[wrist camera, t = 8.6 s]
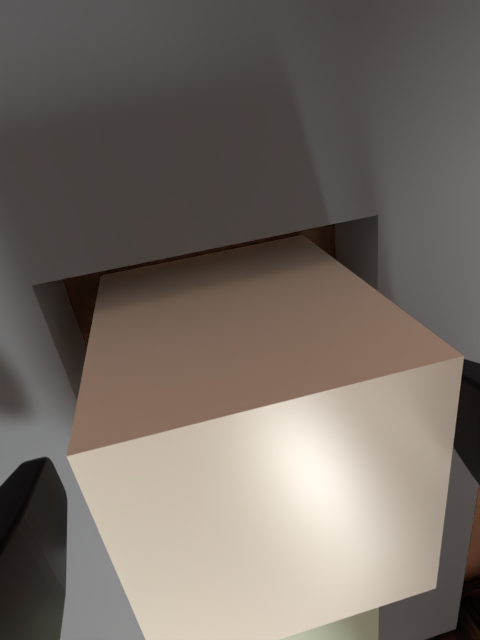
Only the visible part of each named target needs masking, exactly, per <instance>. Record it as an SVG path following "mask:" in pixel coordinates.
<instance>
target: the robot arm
mask: <svg viewBox="0 0 480 640" xmlns="http://www.w3.org/2000/svg"><path fill="white" fill-rule="evenodd" d="M453 448H454V449H455V451H456V452H457V454H458V455H459V457H460V458H461V460H462V462H463V463H464V465H465V466H466V467H467V469H468V470H469V472H470V473H471V475H472V476H473V477H474V479H475V480H476V481H477V483H478V484H479V485H480V363H477V362H474V361H470V360H467V359H464V361H463V369H462V377H461V385H460V394H459V402H458V410H457V418H456V427H455V435H454V443H453ZM67 513H68V501H67V494H66V491H65V488H64V486H63V484H62V481H61V479H60V477H59V475H58V473H57V471H56V468H55V466H54V464H53V462H52V460H51V459H50V458H48V457H40V458H36V459H32V460H28V461H25V462H23V463H21V464H20V465H19V466H18V467H17V468H16V469H15V471H14V472H13V473H12V474H11V475H10V476H9V477H8V478H7V479H6V480H5V481H4V483H3V484H2V485H1V486H0V640H60V637H61V629H62V622H63V614H64V605H65V596H66V569H67ZM425 640H480V580H478V581H475V582H472V583H469V584H466V585H463V588H462V594H461V600H460V606H459V613H458V619H457V625H456V629H454V630H451V631H448V632H445V633H442V634H439V635H437V636H434V637H431V638H428V639H425Z"/></svg>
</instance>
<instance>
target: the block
mask: <svg viewBox="0 0 480 640" xmlns="http://www.w3.org/2000/svg"><path fill="white" fill-rule="evenodd" d="M463 361H464V356H463V355H462V354H461V353H459V352H458V351H457V350H455V349H454V348H453V347H451V346H450V345H449V344H447V343H446V342H445V341H443V340H442V339H441V338H439V337H438V336H437V335H435V334H434V333H433V332H431V331H430V330H429V329H427V328H426V327H425V326H423V325H422V324H421V323H419V322H418V321H417V320H415V319H414V318H413V317H411V316H410V315H409V314H407V313H406V312H405V311H403V310H402V309H401V308H399V307H398V306H397V305H395V304H394V303H393V302H391V301H390V300H389V299H387V298H386V297H385V296H383V295H382V294H381V293H379V292H378V291H377V290H375V289H374V288H373V287H371V286H370V285H369V284H367V283H366V282H365V281H363V280H362V279H361V278H359V277H358V276H357V275H355V274H354V273H353V272H351V271H350V270H349V269H347V268H346V267H345V266H343V265H342V264H341V263H339V262H338V261H337V260H335V259H334V258H333V257H331V256H330V255H329V254H327V253H326V252H325V251H323V250H322V249H321V248H319V247H318V246H317V245H315V244H314V243H313V242H311V241H310V240H309V239H307V238H306V237H305V236H303V235H300V236H295V237H290V238H285V239H280V240H275V241H270V242H265V243H260V244H255V245H250V246H245V247H240V248H235V249H230V250H225V251H220V252H215V253H210V254H205V255H200V256H195V257H190V258H185V259H181V260H176V261H171V262H166V263H161V264H156V265H151V266H146V267H141V268H136V269H131V270H126V271H121V272H116V273H111V274H106V275H101V278H100V283H99V289H98V294H97V299H96V304H95V310H94V315H93V320H92V325H91V331H90V336H89V341H88V346H87V352H86V357H85V362H84V367H83V373H82V378H81V383H80V388H79V394H78V399H77V404H76V409H75V415H74V420H73V425H72V430H71V436H70V441H69V446H68V451H67V459H68V461H69V463H70V466H71V468H72V470H73V473H74V475H75V477H76V480H77V482H78V484H79V486H80V489H81V491H82V493H83V496H84V498H85V500H86V503H87V505H88V507H89V510H90V512H91V514H92V517H93V519H94V521H95V524H96V526H97V528H98V531H99V533H100V535H101V538H102V540H103V542H104V545H105V547H106V549H107V552H108V554H109V556H110V559H111V561H112V563H113V565H114V568H115V570H116V572H117V575H118V577H119V579H120V582H121V584H122V586H123V589H124V591H125V593H126V596H127V598H128V600H129V603H130V605H131V607H132V610H133V612H134V614H135V617H136V619H137V621H138V624H139V626H140V628H141V631H142V633H143V635H144V638H145V640H280V639H283V638H286V637H289V636H292V635H295V634H298V633H301V632H304V631H307V630H310V629H313V628H316V627H319V626H322V625H325V624H328V623H332V622H335V621H338V620H341V619H344V618H347V617H350V616H353V615H356V614H359V613H362V612H365V611H368V610H371V609H374V608H377V607H380V606H383V605H387V604H390V603H393V602H396V601H399V600H402V599H405V598H408V597H411V596H414V595H417V594H420V593H423V592H426V591H429V590H432V589H435V588H436V584H437V576H438V567H439V559H440V551H441V542H442V534H443V526H444V518H445V509H446V501H447V493H448V485H449V476H450V468H451V460H452V451H453V443H454V435H455V427H456V418H457V410H458V402H459V394H460V385H461V377H462V369H463Z"/></svg>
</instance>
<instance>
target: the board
mask: <svg viewBox="0 0 480 640" xmlns="http://www.w3.org/2000/svg"><path fill="white" fill-rule="evenodd" d="M331 224H334V229H335V254H336V260H337V261H338V262H339V263H341V264H342V265H343V266H345V267H346V268H347V269H349V270H350V271H351V272H353V273H354V274H355V275H357V276H358V277H359V278H361V279H362V280H363V281H365V282H366V283H367V284H369V285H370V286H371V287H373V288H374V289H375V290H377V291H378V292H379V293H381V294H382V295H383V296H385V297H386V298H387V299H389V300H390V301H391V302H393V303H394V304H395V305H397V306H398V307H399V308H401V309H402V310H403V311H405V312H406V313H407V314H409V315H410V316H411V317H413V318H414V319H415V320H417V321H418V322H419V323H421V324H422V325H423V326H425V327H426V328H427V329H429V330H430V331H431V332H433V333H434V334H435V335H437V336H438V337H439V338H441V339H442V340H443V341H445V342H446V343H447V344H449V345H450V346H451V347H453V348H454V349H455V350H457V351H458V352H459V353H461V354H462V355H463V356H464V359H467V360H470V361H474V362H477V363H480V0H0V486H1V485H2V484H3V483H4V481H5V480H6V479H7V478H8V477H9V476H10V475H11V474H12V473H13V472H14V471H15V469H16V468H17V467H18V466H19V465H20V464H21V463H23V462H25V461H28V460H32V459H36V458H40V457H48V458H50V459H51V460H52V462H53V464H54V466H55V468H56V471H57V473H58V475H59V477H60V479H61V481H62V484H63V486H64V488H65V491H66V494H67V501H68V513H67V569H66V596H65V605H64V614H63V622H62V629H61V637H60V640H145V638H144V635H143V633H142V631H141V628H140V626H139V624H138V621H137V619H136V617H135V614H134V612H133V610H132V607H131V605H130V603H129V600H128V598H127V596H126V593H125V591H124V589H123V586H122V584H121V582H120V579H119V577H118V575H117V572H116V570H115V568H114V565H113V563H112V561H111V559H110V556H109V554H108V552H107V549H106V547H105V545H104V542H103V540H102V538H101V535H100V533H99V531H98V528H97V526H96V524H95V521H94V519H93V517H92V514H91V512H90V510H89V507H88V505H87V503H86V500H85V498H84V496H83V493H82V491H81V489H80V486H79V484H78V482H77V480H76V477H75V475H74V473H73V470H72V468H71V466H70V463H69V461H68V459H67V451H68V446H69V441H70V436H71V430H72V425H73V420H74V415H75V409H76V404H77V399H78V394H79V388H80V383H81V378H82V373H83V367H84V362H85V357H86V352H87V347H86V344H85V342H84V339H83V336H82V333H81V330H80V327H79V325H78V322H77V319H76V316H75V313H74V310H73V308H72V305H71V302H70V299H69V296H68V293H67V290H66V288H65V285H64V282H63V279H66V278H71V277H76V276H81V275H86V274H91V273H96V272H100V271H105V270H110V269H115V268H120V267H125V266H130V265H135V264H140V263H145V262H150V261H154V260H159V259H164V258H169V257H174V256H179V255H184V254H189V253H194V252H199V251H204V250H208V249H213V248H218V247H223V246H228V245H233V244H238V243H243V242H248V241H253V240H258V239H262V238H267V237H272V236H277V235H282V234H287V233H292V232H297V231H302V230H307V229H312V228H316V227H321V226H326V225H331ZM478 487H479V484H478V483H477V481H476V480H475V479H474V477H473V476H472V475H471V473H470V472H469V470H468V469H467V467H466V466H465V465H464V463H463V462H462V460H461V458H460V457H459V455H458V454H457V452H456V451H455V449H454V448H453V451H452V460H451V468H450V476H449V485H448V493H447V501H446V509H445V518H444V526H443V534H442V542H441V551H440V559H439V567H438V576H437V584H436V588H435V589H432V590H429V591H426V592H423V593H420V594H417V595H414V596H411V597H408V598H405V599H402V600H399V601H396V602H393V603H390V604H387V605H383V606H380V607H377V608H374V609H371V610H368V611H365V612H362V613H359V614H356V615H353V616H350V617H347V618H344V619H341V620H338V621H335V622H332V623H328V624H325V625H322V626H319V627H316V628H313V629H310V630H307V631H304V632H301V633H298V634H295V635H292V636H289V637H286V638H283V639H280V640H425V639H428V638H431V637H434V636H437V635H439V634H442V633H445V632H448V631H451V630H454V629H456V625H457V619H458V613H459V606H460V600H461V594H462V588H463V581H464V575H465V569H466V563H467V556H468V550H469V544H470V537H471V531H472V525H473V519H474V512H475V506H476V500H477V494H478Z"/></svg>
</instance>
